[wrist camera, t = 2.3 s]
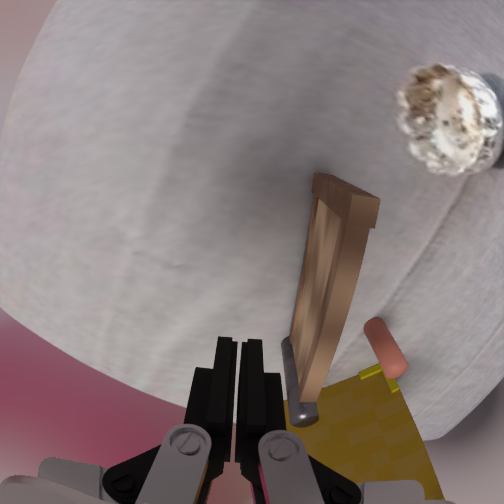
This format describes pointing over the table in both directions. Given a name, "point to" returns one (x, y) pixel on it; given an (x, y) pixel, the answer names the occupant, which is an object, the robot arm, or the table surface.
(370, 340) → the post
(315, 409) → the gate post
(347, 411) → the book
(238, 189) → the table surface
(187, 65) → the table surface
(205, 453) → the robot arm
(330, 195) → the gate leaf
